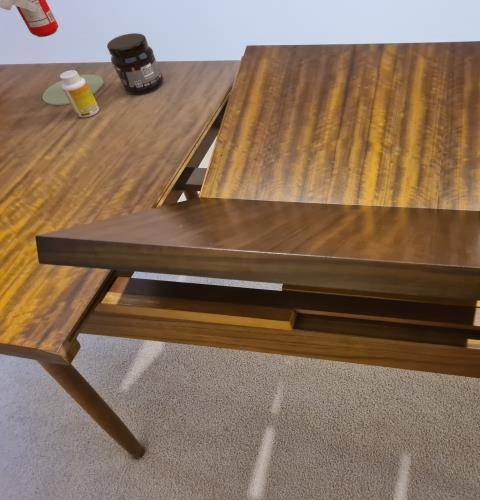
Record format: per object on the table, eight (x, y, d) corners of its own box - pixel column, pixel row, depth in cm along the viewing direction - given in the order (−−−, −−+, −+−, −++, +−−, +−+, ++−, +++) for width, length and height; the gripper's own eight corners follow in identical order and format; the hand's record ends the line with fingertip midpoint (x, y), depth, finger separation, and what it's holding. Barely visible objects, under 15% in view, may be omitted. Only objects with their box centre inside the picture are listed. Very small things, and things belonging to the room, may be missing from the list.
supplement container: (132, 77, 126) (113, 33, 117) (169, 75, 125) (152, 30, 116) (119, 97, 119) (97, 51, 110) (157, 95, 118) (139, 48, 109)
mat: (30, 101, 122) (29, 99, 122) (72, 73, 132) (72, 71, 132) (74, 108, 117) (73, 107, 117) (115, 78, 127) (115, 77, 126)
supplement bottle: (104, 108, 116) (85, 69, 108) (89, 120, 112) (67, 80, 105) (88, 105, 118) (68, 67, 110) (72, 116, 114) (50, 78, 107)
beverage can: (64, 26, 110) (36, -30, 101) (53, 37, 106) (24, -20, 97) (39, 28, 111) (9, -27, 102) (27, 39, 106) (-5, -18, 98)
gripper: (-38, -39, 86) (44, 3, 96) (-39, -60, 99) (34, -21, 109) (-48, -7, 88) (33, 30, 99) (-47, -32, 101) (25, 4, 111)
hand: (34, 3), depth 104 cm, fingers closed on beverage can, 6 cm apart
